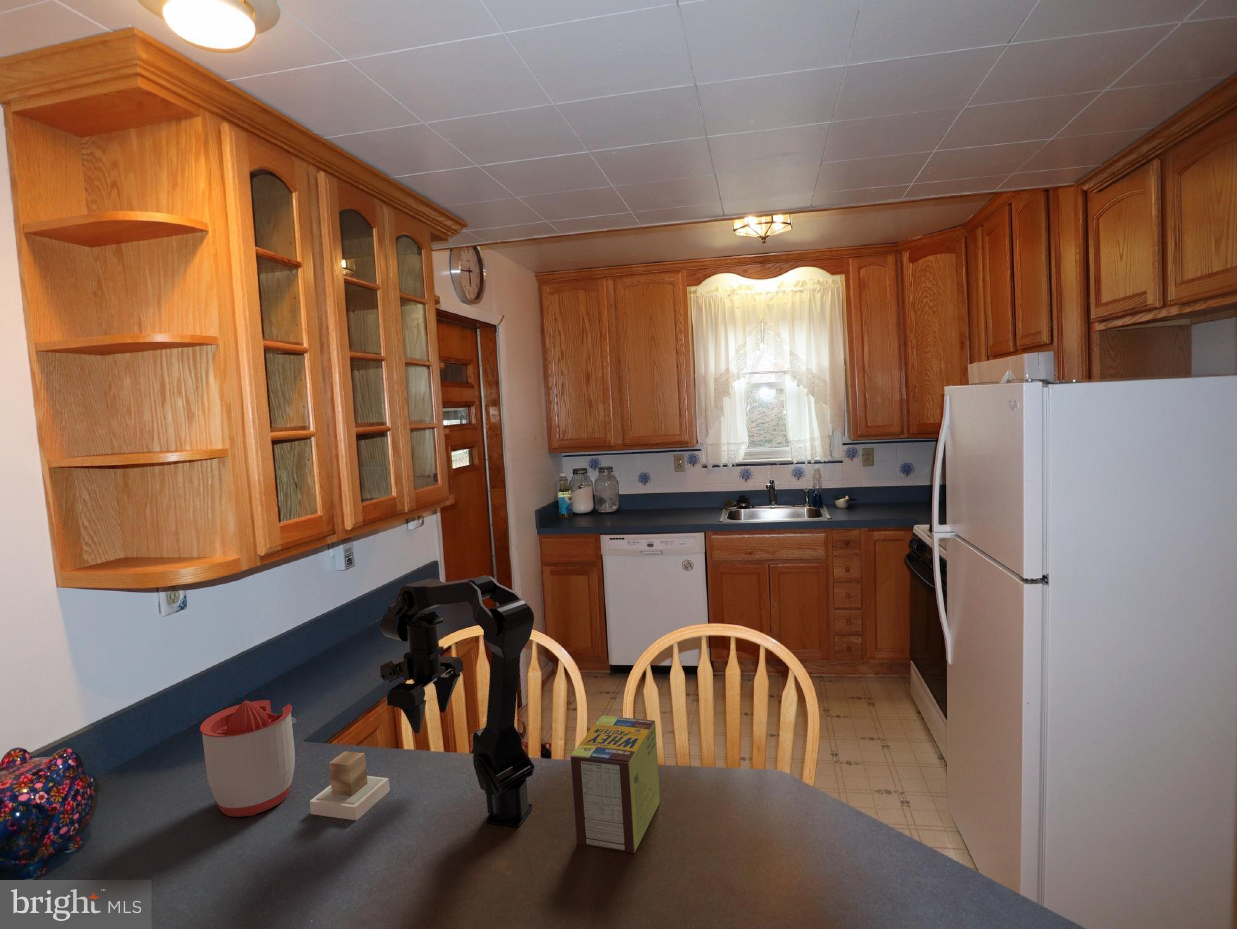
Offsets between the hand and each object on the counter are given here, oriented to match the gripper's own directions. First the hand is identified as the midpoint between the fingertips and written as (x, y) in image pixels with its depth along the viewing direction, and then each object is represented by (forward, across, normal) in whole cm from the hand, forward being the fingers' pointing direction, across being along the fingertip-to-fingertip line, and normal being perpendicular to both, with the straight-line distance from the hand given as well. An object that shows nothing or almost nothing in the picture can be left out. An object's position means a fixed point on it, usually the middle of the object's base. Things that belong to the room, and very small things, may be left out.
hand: (430, 722), depth 139 cm
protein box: (+12, +6, +40) cm, 42 cm away
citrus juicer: (+12, +13, -31) cm, 36 cm away
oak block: (+9, +10, -12) cm, 18 cm away
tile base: (+12, +10, -12) cm, 20 cm away
